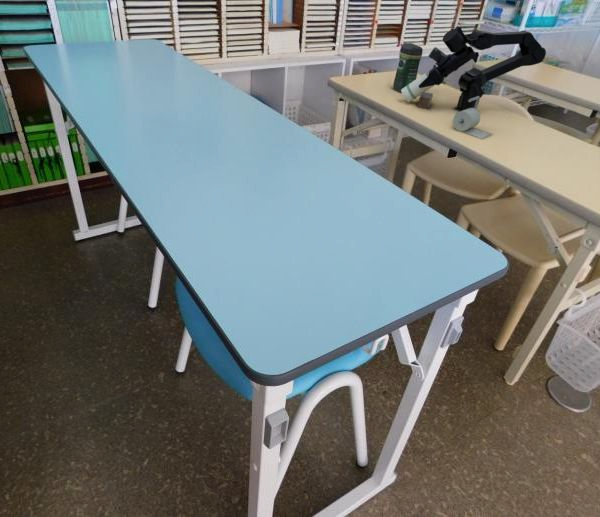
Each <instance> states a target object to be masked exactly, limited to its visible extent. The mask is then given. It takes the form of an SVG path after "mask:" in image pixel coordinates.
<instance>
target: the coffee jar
mask: <svg viewBox="0 0 600 517" xmlns="http://www.w3.org/2000/svg"><path fill="white" fill-rule="evenodd" d="M423 49H424V48H422V47H421V46H419V45H417V44H415V43H412V42H404V43H402V44H401V45H400V49H399V53H398V54H399V56H398V62H397V67H396V73H395V76H394V78H393V79H394V80H393V84H392V88H393V90H396V91H397V92H401V89H403V88H404V87H406V86H407V85H408V84H410V83H411V82H413V81H414V80H416V79H417V78H418V76H417V75H418V72H419V67H420V62H421V60H422V57H423ZM401 93H402V92H401Z"/></svg>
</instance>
